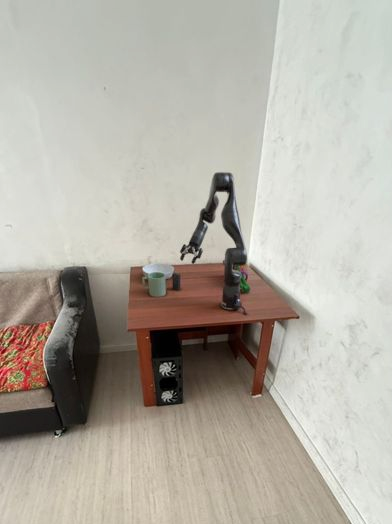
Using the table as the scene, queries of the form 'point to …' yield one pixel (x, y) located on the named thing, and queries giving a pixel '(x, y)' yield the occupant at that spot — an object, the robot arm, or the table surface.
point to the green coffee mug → (156, 284)
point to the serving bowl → (158, 269)
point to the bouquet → (243, 284)
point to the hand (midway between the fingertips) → (186, 261)
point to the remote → (176, 281)
